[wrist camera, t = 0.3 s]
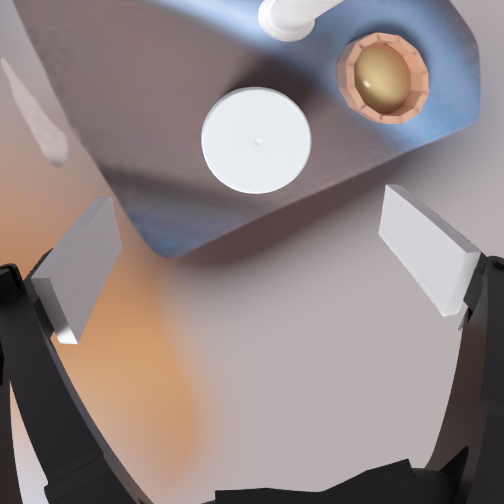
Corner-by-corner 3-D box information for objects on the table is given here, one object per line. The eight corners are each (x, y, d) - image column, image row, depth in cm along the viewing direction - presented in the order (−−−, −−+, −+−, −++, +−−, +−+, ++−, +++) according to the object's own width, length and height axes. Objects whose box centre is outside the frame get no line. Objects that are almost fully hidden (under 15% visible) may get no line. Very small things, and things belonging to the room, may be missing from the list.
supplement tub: (286, 156, 41) (315, 193, 28) (213, 163, 41) (208, 204, 28) (281, 83, 36) (311, 84, 23) (204, 90, 36) (193, 93, 23)
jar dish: (333, 32, 33) (343, 28, 30) (413, 42, 33) (426, 40, 30) (338, 119, 39) (347, 122, 36) (414, 121, 39) (427, 125, 36)
